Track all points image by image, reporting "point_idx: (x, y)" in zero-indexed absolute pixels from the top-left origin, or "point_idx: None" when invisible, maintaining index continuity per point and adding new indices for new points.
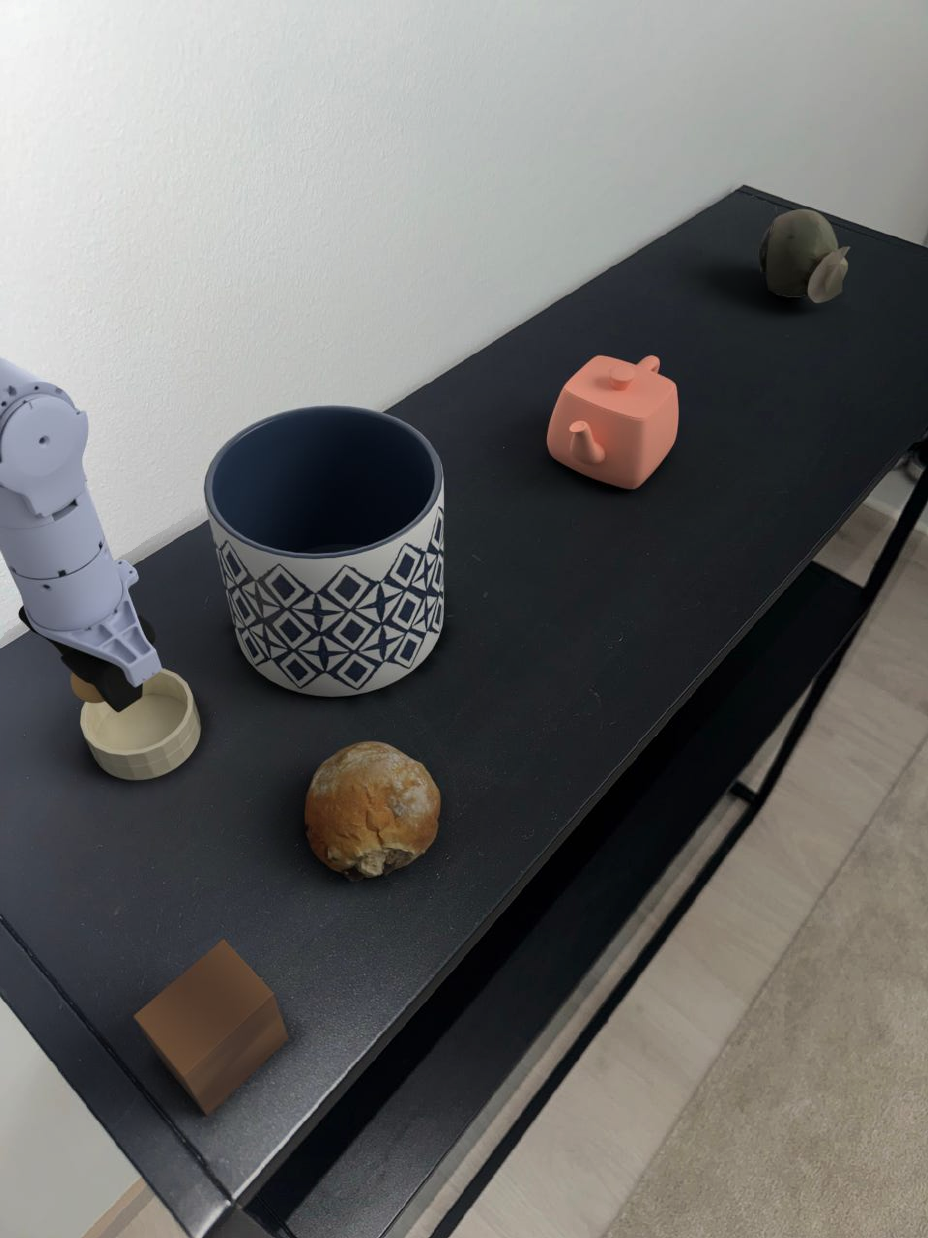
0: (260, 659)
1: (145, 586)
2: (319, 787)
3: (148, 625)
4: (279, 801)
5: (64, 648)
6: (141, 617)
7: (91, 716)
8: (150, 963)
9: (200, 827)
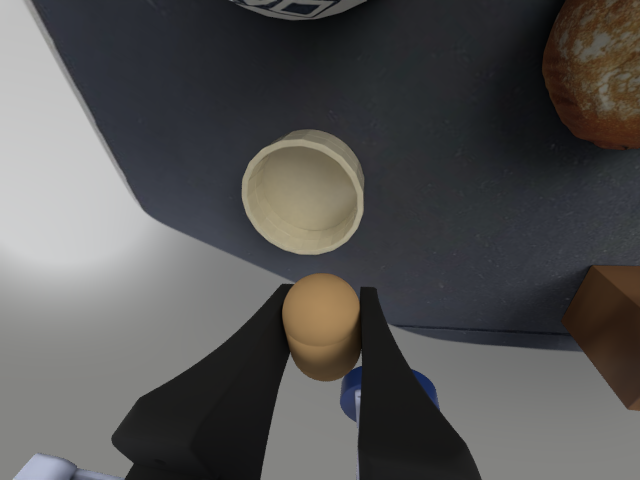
0: (323, 8)
1: (102, 66)
2: (634, 104)
3: (435, 477)
4: (492, 126)
5: (273, 395)
6: (387, 470)
7: (273, 228)
8: (498, 292)
9: (439, 206)
